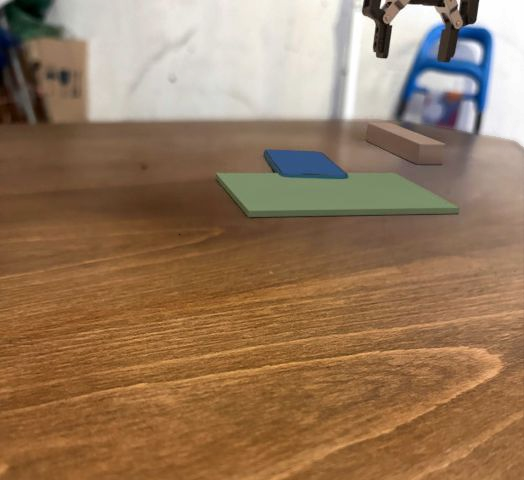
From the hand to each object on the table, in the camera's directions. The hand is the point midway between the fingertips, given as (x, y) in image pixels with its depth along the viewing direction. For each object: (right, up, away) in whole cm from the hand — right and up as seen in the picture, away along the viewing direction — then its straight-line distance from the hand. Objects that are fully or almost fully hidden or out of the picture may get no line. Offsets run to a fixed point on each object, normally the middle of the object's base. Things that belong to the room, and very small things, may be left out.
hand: (412, 60), depth 83 cm
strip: (0, -10, +5) cm, 11 cm away
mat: (-12, -21, -18) cm, 30 cm away
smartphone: (-14, -16, -8) cm, 23 cm away
